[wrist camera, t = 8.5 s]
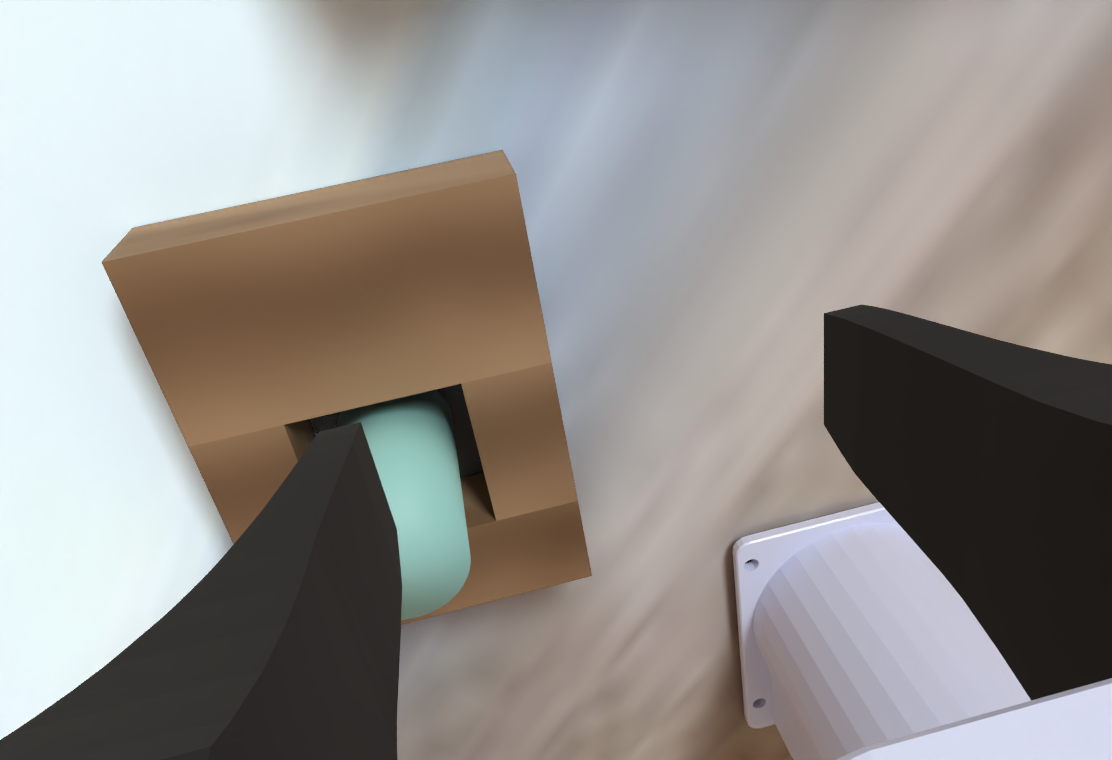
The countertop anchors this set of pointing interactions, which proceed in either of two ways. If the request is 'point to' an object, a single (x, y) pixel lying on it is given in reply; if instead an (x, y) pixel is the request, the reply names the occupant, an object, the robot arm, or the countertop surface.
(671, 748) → the countertop surface
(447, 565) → the peg
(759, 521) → the countertop surface
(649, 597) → the countertop surface
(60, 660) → the countertop surface
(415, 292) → the socket board
